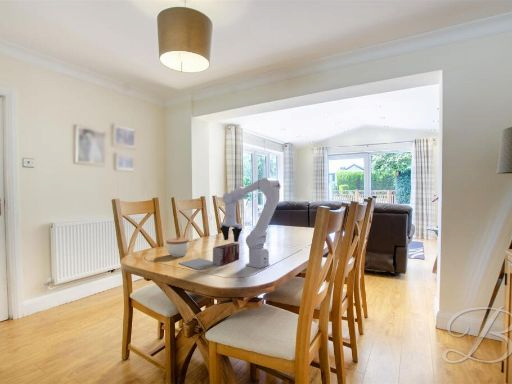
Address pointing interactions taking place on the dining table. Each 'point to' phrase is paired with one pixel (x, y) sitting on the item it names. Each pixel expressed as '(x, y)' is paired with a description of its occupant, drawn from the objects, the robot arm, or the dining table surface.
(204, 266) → the felt mat
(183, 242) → the lidded bowl
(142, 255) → the dining table surface
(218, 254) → the supplement box
